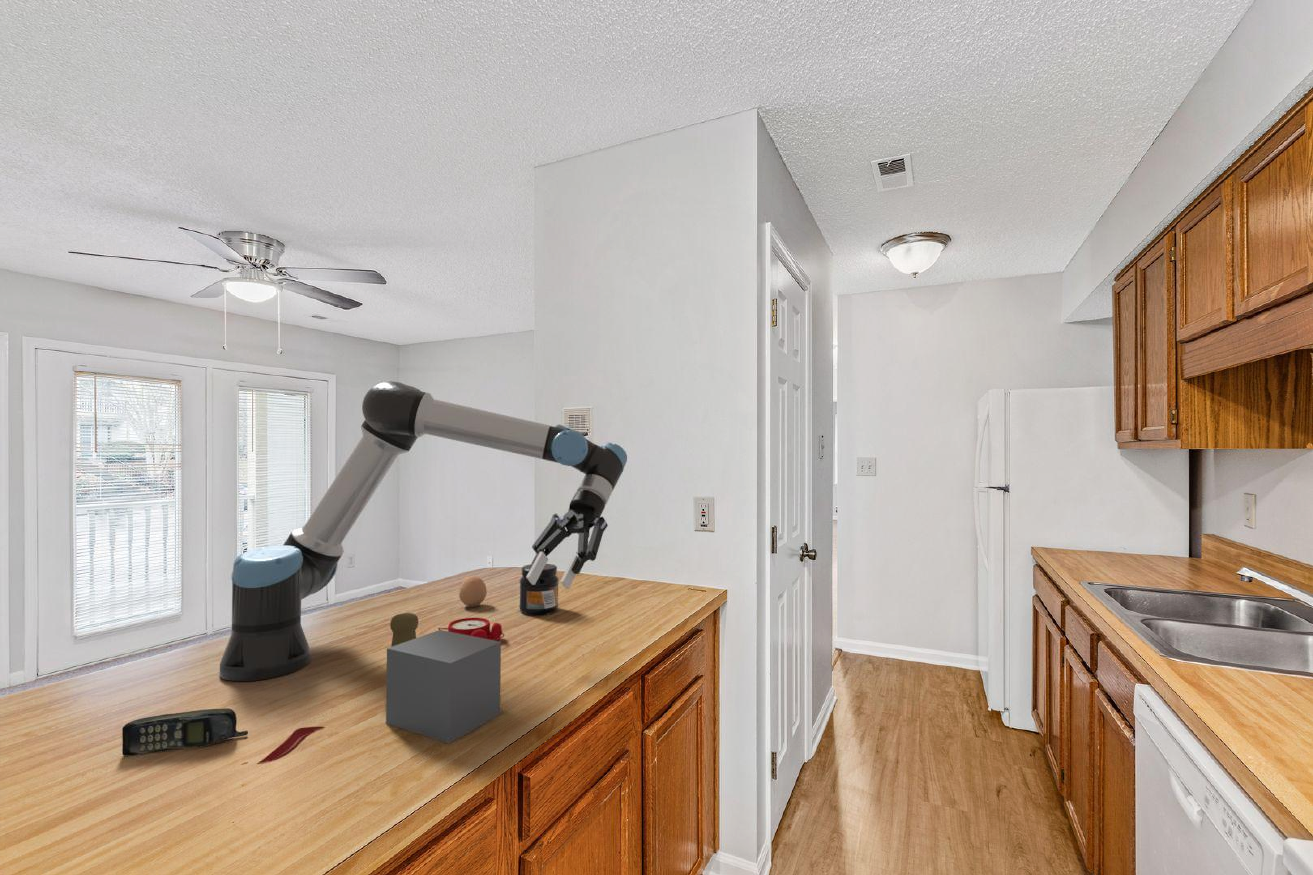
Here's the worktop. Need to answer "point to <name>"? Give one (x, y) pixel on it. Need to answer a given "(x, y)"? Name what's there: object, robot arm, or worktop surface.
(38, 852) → the worktop surface
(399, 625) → the cork
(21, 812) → the worktop surface
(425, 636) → the gray box
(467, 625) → the alarm clock
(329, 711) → the worktop surface
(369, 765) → the worktop surface
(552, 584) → the supplement container
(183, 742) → the mobile phone
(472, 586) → the egg
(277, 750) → the cayenne pepper
